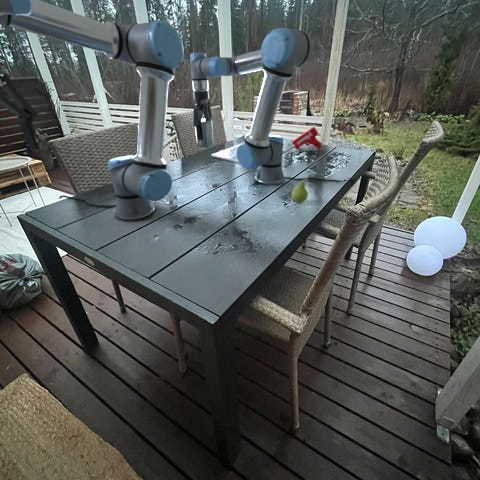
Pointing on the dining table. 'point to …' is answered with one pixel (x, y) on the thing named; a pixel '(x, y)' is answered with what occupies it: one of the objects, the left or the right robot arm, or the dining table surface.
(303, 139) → the toy gun
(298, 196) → the fruit
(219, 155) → the relief map
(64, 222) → the dining table surface
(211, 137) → the tin
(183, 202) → the dining table surface
